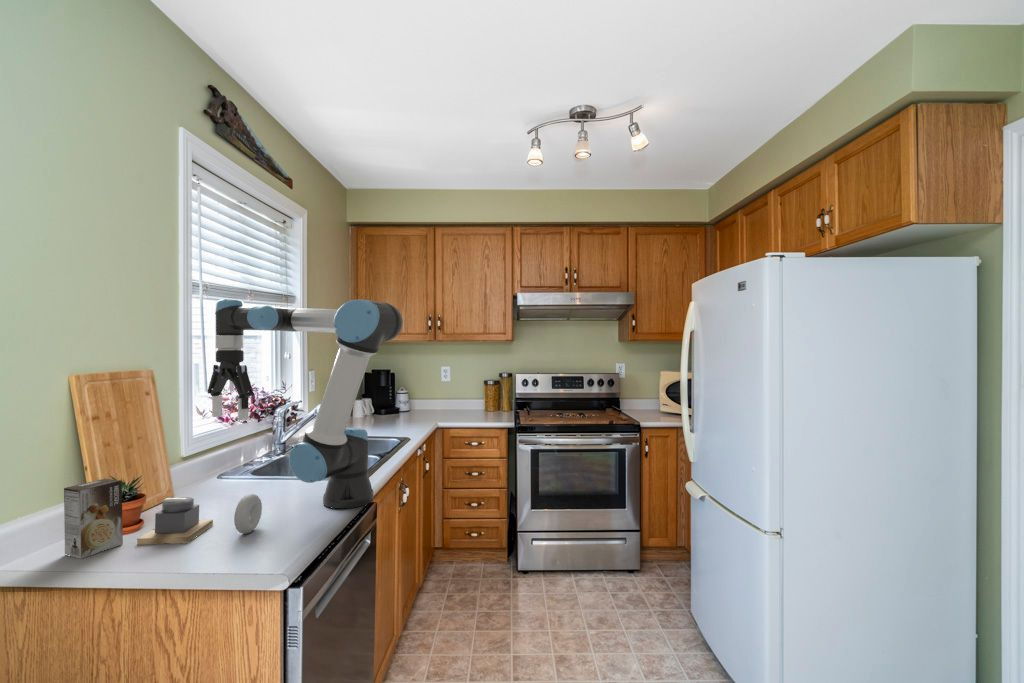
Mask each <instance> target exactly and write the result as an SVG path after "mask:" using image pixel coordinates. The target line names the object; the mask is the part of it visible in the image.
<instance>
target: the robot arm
mask: <svg viewBox="0 0 1024 683" xmlns="http://www.w3.org/2000/svg"><path fill="white" fill-rule="evenodd" d="M214 313H215V348H216V349H217V350H216V351H215V362H216V363H220V364H214V365H213V367H212V374H211V377H210V380H209V384H208V388H207V394H210V396H211V398H212V400H211V401H212V402H211V403H212V405H211V406H212V409H211V411H212V412H211V415H212V418H215V417H216V418H217V417H222V416H223V393H222V392H223V390H224V388H225V386H226V384H227V382H228V381H231V382H232V384H233V385H234V387H235V390H236V392H237V394H238V396H237V421H244V420H249V398H251V397H252V396H253V397H254V391H253V388H252V384H251V381H250V377H249V374H248V366H247V364H246V365H245V364H243V365H240V364H241V363H243V361H245V360H244V357H245V356H244V355H245V354H244V353H245V352H244V351H243V348H244V341H245V340H244V331H275V332H276V331H280V332H303V333H304V332H305V333H307V332H308V333H330V334H336V335H337V336H336V339H335V341H336V344H337V346H338V347H339V348H338V351H337V354H336V358H335V360H334V364H333V366H332V368H331V369H332V370H331V372H330V376H329V379H328V382H327V385H326V388H325V390H324V394H323V397H322V399H321V403H320V406H319V408H318V412H317V415H316V418H315V421H314V423H313V425H311V426H309V427H308V428H306V430H305V433H304V436H303V439H302V441H300V442H298V443H296V444H295V445H293V447H292V448H291V449H290V452H289V454H288V455H289V456H288V462H289V464H288V465H289V466H290V469H291V470H292V471H291V472H292V473H293V475H294V476H295V477H296V478H297V479H298V480H299V481H301V482H304V483H308V484H313V483H316V482H321V481H324V480H325V479H328V480H327V484H326V487H325V492H324V494H323V496H322V504H324V505H325V506H324V505H323V506H324V507H326V506H327V507H326V508H328V507H332V508H331V509H335V508H346V509H353V508H359V507H362V506H366V505H368V504H370V503H372V502H373V501H374V498H375V496H374V494H375V493H374V489H373V487H372V484H371V481H370V478H369V471H368V470H369V438H368V437H369V436H368V435H369V434H368V431H367V429H365V428H360V427H359V428H358V427H357V428H356V427H347V426H348V423H349V420H350V416H351V413H352V411H353V407H354V404H355V402H356V399H357V396H358V392H359V391H360V387H361V384H362V381H363V378H364V376H365V373H366V369H367V367H368V363H369V361H370V358H371V357H372V356H375V355H377V354H378V351H379V349H380V346H381V343H382V342H383V343H384V342H389V341H392V340H395V338H396V337H397V336H399V334H400V333H401V332H402V329H403V324H404V320H403V316H402V314H401V312H400V311H399V309H398V308H397V307H396V306H394V305H393V304H391V303H388V302H383V301H382V302H381V301H374V300H370V299H369V300H368V299H365V298H364V299H363V298H361V299H351V300H348V301H346V302H344V303H343V304H341V306H340V307H339V308H338V309H336V308H335V309H334V308H328V309H327V308H295V307H294V308H293V307H276V306H272V305H268V304H267V305H266V304H257V305H256V304H254V305H244V301H243V300H240V299H233V298H232V299H231V298H230V299H229V298H228V299H224V298H223V299H222V298H221V299H218V300H217V301H216V303H215V312H214Z"/></svg>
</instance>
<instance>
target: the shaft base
mask: <svg viewBox="0 0 1024 683" xmlns="http://www.w3.org/2000/svg"><path fill="white" fill-rule="evenodd" d="M212 525H213V526H214V519H199V523H198V524H197V525H195V526H194V527H192V528H191V529H190V530H188V531H187V532H185V533H155V527H154V528H153V529H151V530H150V531H147V532H146V533H144V534H143V535H141V536H139V537H138V538H137V539H136V540H137V541H136V543H137V544H136V545H137V546H138V545H139V546H140V545H142V546H143V545H162V544H163V545H165V544H164V543H170V544H184V543H183V542H189V543H191V540H192V539H193V540H195V539H196V538H197V537H198V535H199V534H200V535H202V534H203V533H204V532H206V531H207V530H208V529H210V528H211V527H213V526H212ZM209 527H210V528H209ZM206 529H207V530H206ZM205 530H206V531H205ZM202 532H203V533H202ZM200 535H199V536H200ZM196 536H197V537H196ZM195 537H196V538H195ZM193 540H192V541H193Z"/></svg>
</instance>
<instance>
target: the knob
mask: <svg viewBox="0 0 1024 683" xmlns="http://www.w3.org/2000/svg"><path fill="white" fill-rule="evenodd" d="M161 505H162V506H161V510H159V511H158V512H156V513H155V520H154V521H155V522H154V528H155V533H185V532H187V531H188V530H190V529H191V528H192V527H194V526H195V525H197V524H198V523H199V520H200V504H195V499H194V498H193V497H188V496H187V497H186V496H183V497H182V496H181V497H166V498H164V500H163V502H162V504H161Z"/></svg>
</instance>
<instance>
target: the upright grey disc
mask: <svg viewBox="0 0 1024 683" xmlns="http://www.w3.org/2000/svg"><path fill="white" fill-rule="evenodd" d="M262 505H263V503H262V500H261V498H260V497H259V495H257V494H255V493H249V494H248V493H247V494H246V495H244V496H243V497H242V498H240V500H239V502H238V503H237V505H236V508H235V512H234V516H233V518H234V519H233V521H234V527H235V529H236V530H237V532H239V533H240V534H244V535H247V534H250V533H251V532H253V531H254V530H255V529H256V528H257V526H258V524H259V522H260V519H261V518H262V510H263V506H262Z"/></svg>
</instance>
